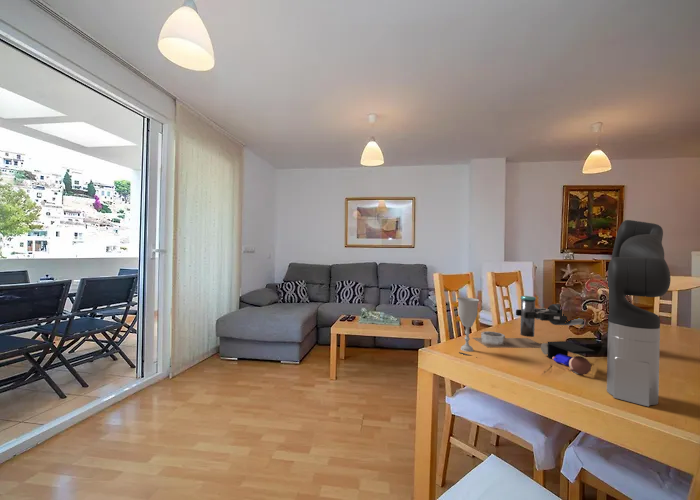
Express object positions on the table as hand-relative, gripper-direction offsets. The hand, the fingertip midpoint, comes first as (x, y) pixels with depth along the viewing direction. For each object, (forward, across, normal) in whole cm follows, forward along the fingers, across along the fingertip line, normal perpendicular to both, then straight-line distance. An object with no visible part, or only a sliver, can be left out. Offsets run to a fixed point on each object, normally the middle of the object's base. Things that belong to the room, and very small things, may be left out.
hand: (520, 313), depth 115 cm
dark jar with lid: (-3, 0, +8) cm, 8 cm away
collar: (+10, 0, +11) cm, 15 cm away
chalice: (+23, +8, +12) cm, 28 cm away
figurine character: (-2, +20, +12) cm, 24 cm away
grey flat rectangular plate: (+4, 0, +12) cm, 12 cm away
